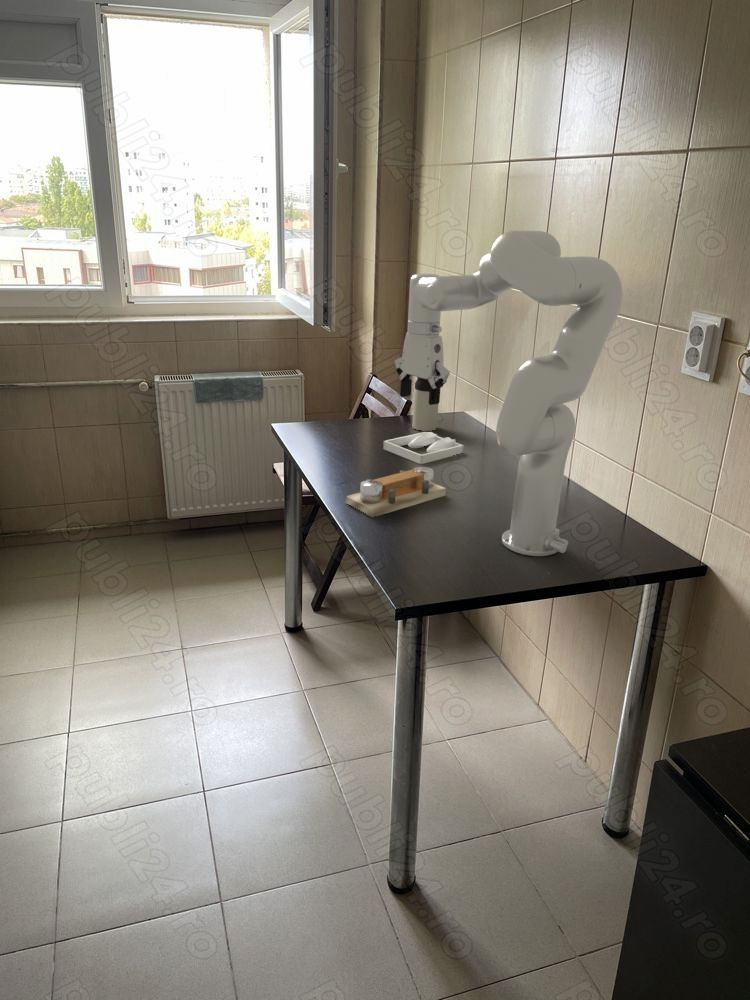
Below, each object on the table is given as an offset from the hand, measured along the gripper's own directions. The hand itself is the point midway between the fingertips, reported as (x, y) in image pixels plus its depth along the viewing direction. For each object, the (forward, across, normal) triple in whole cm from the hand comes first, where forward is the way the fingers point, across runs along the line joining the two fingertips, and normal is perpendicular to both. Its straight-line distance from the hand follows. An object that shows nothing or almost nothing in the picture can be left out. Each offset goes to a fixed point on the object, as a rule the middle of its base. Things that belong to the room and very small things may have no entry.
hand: (419, 399), depth 178 cm
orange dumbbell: (+22, -2, +8) cm, 23 cm away
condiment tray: (+23, +21, -24) cm, 39 cm away
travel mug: (+23, +37, -42) cm, 61 cm away
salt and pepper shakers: (+24, +21, -27) cm, 42 cm away
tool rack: (+24, -2, +8) cm, 25 cm away
